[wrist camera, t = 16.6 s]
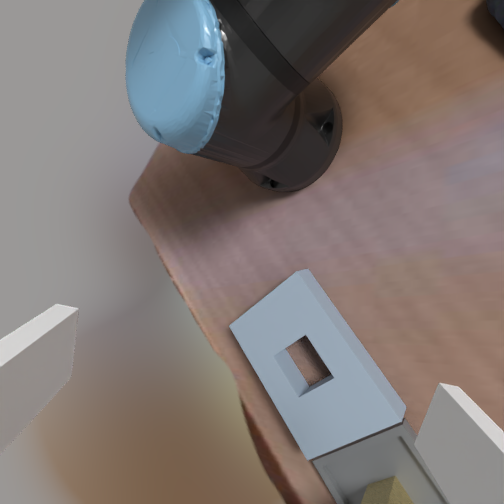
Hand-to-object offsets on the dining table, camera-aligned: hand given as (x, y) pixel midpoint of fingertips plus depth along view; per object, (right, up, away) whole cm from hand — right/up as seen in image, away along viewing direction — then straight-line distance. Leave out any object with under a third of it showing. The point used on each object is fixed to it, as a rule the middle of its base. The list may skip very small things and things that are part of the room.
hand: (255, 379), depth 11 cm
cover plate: (+8, -10, +32) cm, 35 cm away
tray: (+17, -25, +27) cm, 41 cm away
